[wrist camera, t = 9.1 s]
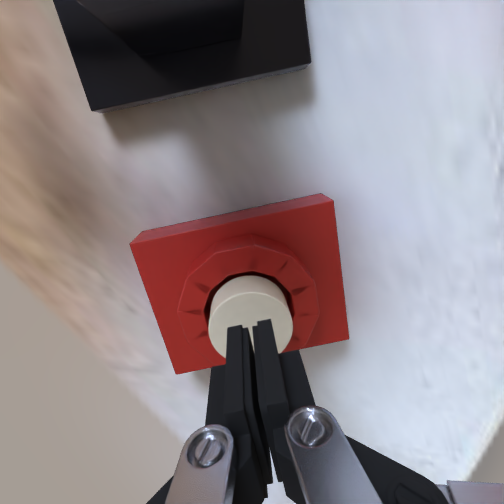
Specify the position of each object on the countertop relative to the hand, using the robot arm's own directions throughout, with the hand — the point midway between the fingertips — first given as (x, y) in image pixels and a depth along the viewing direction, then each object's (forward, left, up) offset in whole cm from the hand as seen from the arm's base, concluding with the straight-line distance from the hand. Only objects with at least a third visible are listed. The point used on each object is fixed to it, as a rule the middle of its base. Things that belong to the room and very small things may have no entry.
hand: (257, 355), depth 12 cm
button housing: (0, 0, -7) cm, 7 cm away
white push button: (0, 0, -3) cm, 3 cm away
